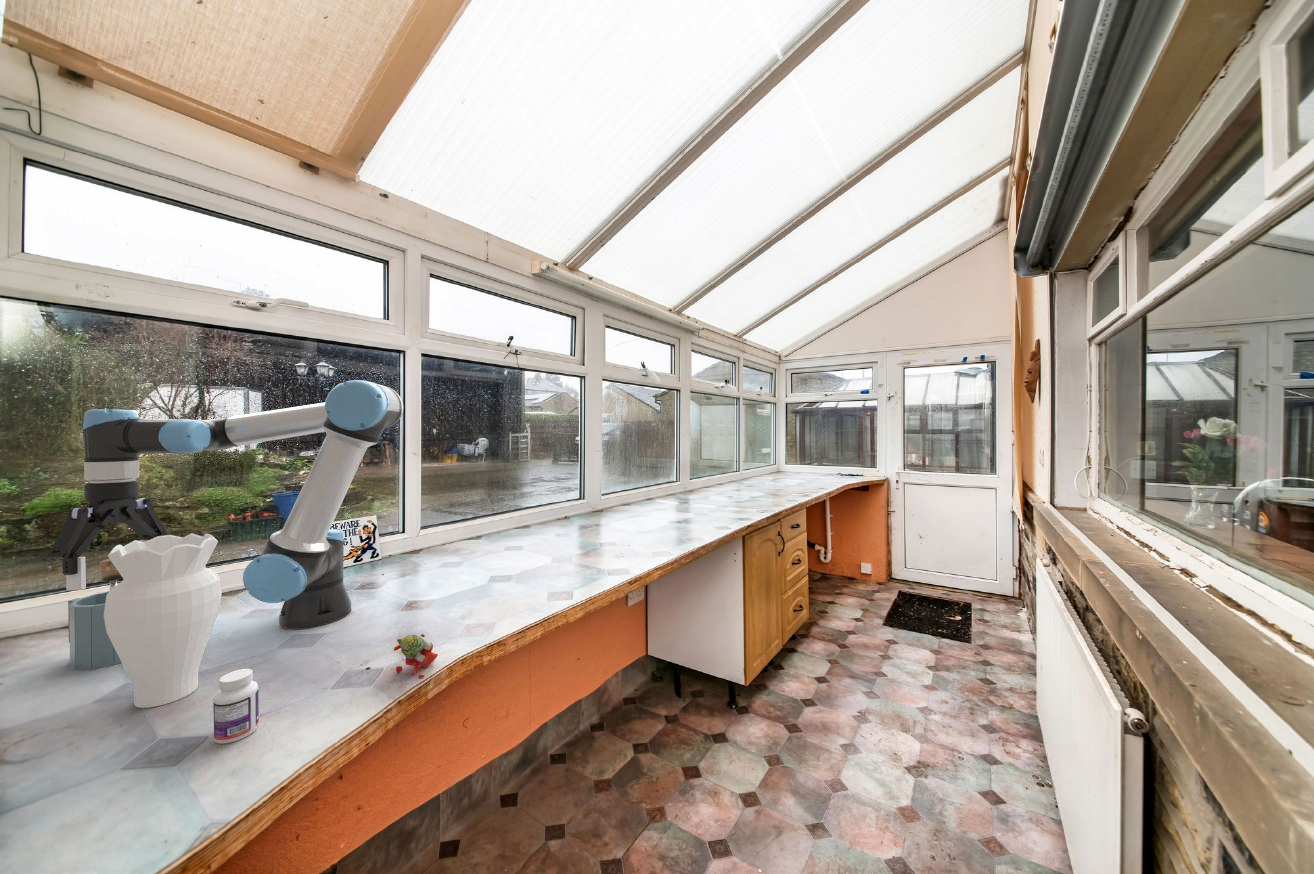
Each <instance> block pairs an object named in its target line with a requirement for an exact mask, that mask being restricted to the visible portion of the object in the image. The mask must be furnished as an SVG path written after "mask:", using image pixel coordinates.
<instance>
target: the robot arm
mask: <svg viewBox="0 0 1314 874" xmlns="http://www.w3.org/2000/svg"><path fill="white" fill-rule="evenodd" d="M403 413H404V402H403V400H402V398H401V396H400V395H399V393H398V392H397V391H395V390H394V389H393V388H391V387H389V386H387V385H386V386H385V385H384V384H378V383H375V382H373V381H372V382H371V381H369V380H365V379H364V380H363V379H355V380H346V381H344V382H341V383H338V384H337V385H336V386H334V387H333V388H332V389H330V391H329V393H328V394H327V396H326V398H325V401H324V402H318V403H314V404H313V403H312V404H307V405H300V406H298V405H297V406H293V407H287V408H280V409H272V410H267V411H266V410H265V411H260V412H254V413H253V412H252V413H246V414H240V415H234V416H233V415H232V416H228V417H221V418H220V417H219V418H214V419H188V418H176V419H175V418H174V419H173V418H167V419H166V418H160V419H157V418H156V419H154V418H153V419H151V418H150V419H149V418H148V419H147V418H146V419H145V418H140V417H139V412H138V411H137V410H134V409H101V408H100V409H95V408H94V409H88V410H87V411H85V412H84V415H83V425H82V426H83V427H82V428H81V431H82V437H83V451H84V458H83V459H84V460H83V470H84V471H83V472H84V473H83V475H84V476H83V479H84V480H85V481H87V483H85V484H84V486H83V488H84V489H83V491H84V492H83V493H84V494H83V495H84V500H85V501H86V502H87V503H88V505H87V507H70V508H69V509H68V510H67V511H68V512H67V518H66V521H65V523H64V524H63V527H62V528H61V531H60V532H59V534H58V536H57V537H56V540H55V542H54V543H53V545H52V547H51V549H50V551H49V553H48V555H47V557H48V559H60V560H61V561H62V574H63V576H65V584H66V591H82V590H85V589H87V580H86V579H87V578H86V577H87V576H86V573H87V571H86V570H87V568H86V567H87V565H86V556H82V554H83V553H84V552H85V550H87V548H88V547H89V545H90V544H91V543H92V542H93V541H94V539H95V538H96V537H97V535H98V534H99V533H100V532H101V531H102V530H103V529H105V528H107V526H111V525H116V524H118V523H124V524H125V525H126V526H127V527H128V528H130V529H131V530H132V531H134V533H136V535H138V536H139V537H140V538H141V540H139V541H141V542H146V541H149V540H151V539H153V538H155V537H157V536H163V535H166V533H167V529H166V528H165V525H164V523H163V522H162V520H161V519H160V517H159V515H158V513H157V511H156V510H155V509H154V507H153V506H154V505H153V501H152V498H148V497H140V498H139V496H140V481H139V480H137V479H138V478H139V477H140V454H178V455H179V454H180V455H183V454H193V453H194V454H195V453H200V452H202V451H224V450H228V449H231V448H235V447H240V446H245V445H252V444H259V443H264V442H270V441H276V440H283V439H288V438H294V437H301V436H307V435H312V434H319V433H326V436H325V438H324V440H323V442H322V445H321V447H320V448H319V451H318V453H317V455H316V457H315V459H314V461H313V464H312V466H311V468H310V470H309V473H308V475H307V476H306V479H305V481H304V483H303V485H302V487H301V490H300V491H299V493H298V496H297V498H296V500H295V502H294V504H293V507H292V508H291V511H290V512H289V515H288V517H287V519H286V521H285V523H284V525H283V528H282V529H280V530H277V531H275V532H273V533H272V534H271V535H270V537H269V538H268V540H267V543H266V545H265V547H264V549H263V551H262V553H261V554H260V555H259V556H257V557H255V558H254V559H253V560H251V561H250V562H249V563H248V564H247V566H246V567H245V569H244V571H243V574H242V582H243V583H242V584H243V586H244V589H246V590H247V592H248V594H249V595H250V596H251V597H252V598H254V599H256V600H257V601H260V602H263V603H267V604H279V603H283V605H282V607H281V609H280V613H279V614H278V615H279V616H278V626H279V627H281V628H284V629H291V630H292V629H294V630H295V629H296V630H298V629H307V628H308V629H309V628H313V627H318V626H322V625H327V624H330V623H333V622H336V621H338V620H341V619H343V618H344V617H346V616H347V615H349V614H350V613H351V612H352V601H351V598H350V596H349V594H348V591H347V588H346V587H345V584H344V557H345V555H344V550H345V549H344V548H345V547H344V546H345V545H344V543H345V540H344V534H343V531H342V530H341V529H336V528H332V526H333V523H334V521H335V519H336V517H337V515H338V513H339V510H340V507H341V505H342V504H343V502H344V499H345V497H346V495H347V493H348V490H349V489H350V487H351V484H352V482H353V480H354V478H355V475H356V473H357V472H358V469H359V466H360V465H361V463H362V461H363V458H364V456H365V454H366V451H367V449H368V448H370V447H371V446H374V445H376V444H378V443H379V440H380V438H381V436H382V434H383V432H384V430H385V429H387V428H390V427H392V426H394V425H395V424H397V422H399V421H400V419H401V417H402V415H403Z"/></svg>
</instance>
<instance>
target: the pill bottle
mask: <svg viewBox="0 0 1314 874" xmlns="http://www.w3.org/2000/svg"><path fill="white" fill-rule="evenodd" d="M253 673H254V672H253V669H251V668H241V669H236V670H233V671H231V672H228V673H226V674H224V675H222V676H221V677H220V678H219V681H218V685H219V686H218V688H219V690H218V691H217V692H216V693H215V694H214V697H213V701H212V702H213V740H214V742H215V743H217V744H220V745H221V744H223V745H224V744H230V743H234V742H237V741H240V740H242V739H245V738H247V737H248V736H251V734H253V733H254V732H255V731H256V730H257V729H258V727H259V724H260V716H259V715H260V714H259V712H260V711H259V692H260V691H259V683H257V682H256V681H254V680H253V679H254V674H253Z"/></svg>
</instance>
